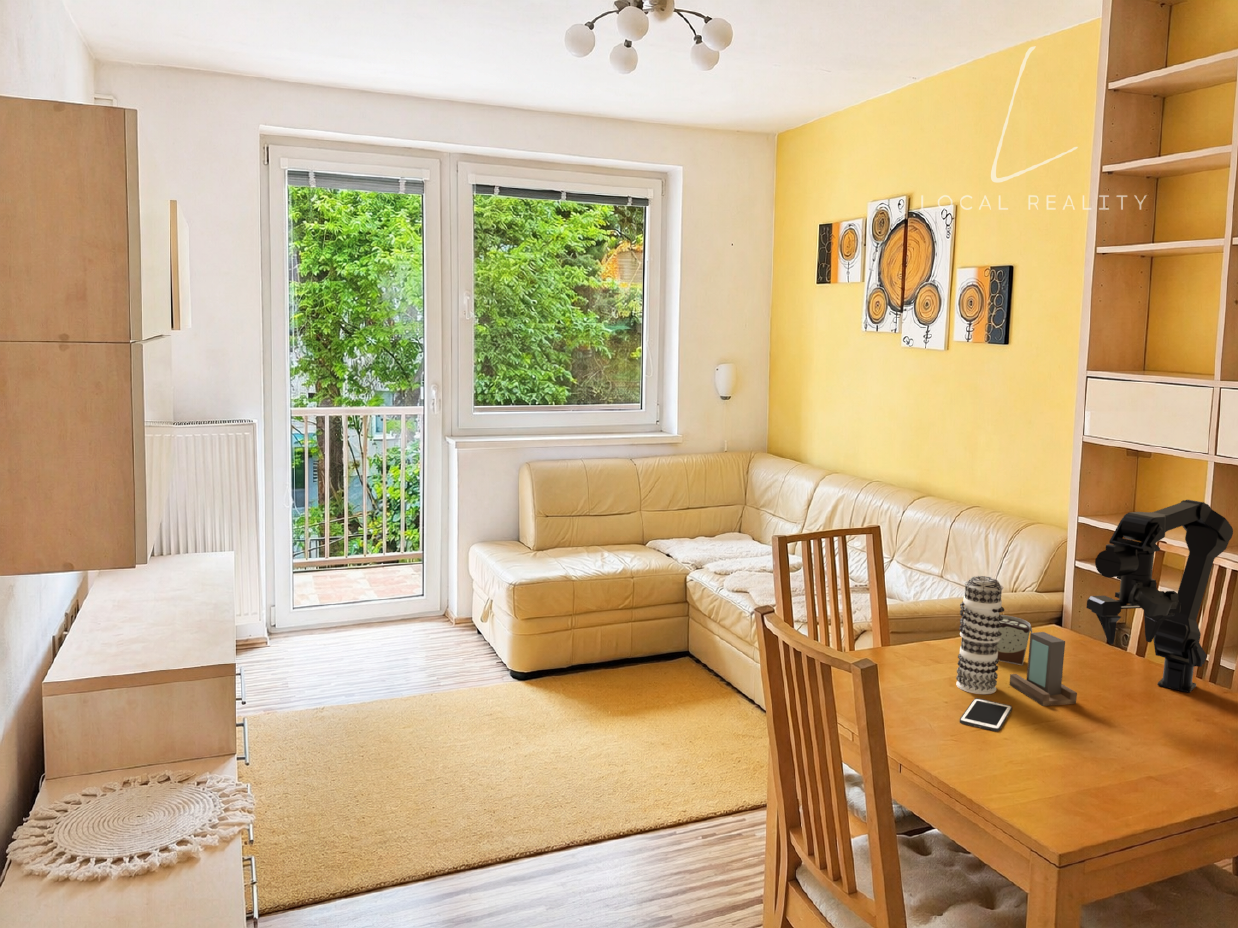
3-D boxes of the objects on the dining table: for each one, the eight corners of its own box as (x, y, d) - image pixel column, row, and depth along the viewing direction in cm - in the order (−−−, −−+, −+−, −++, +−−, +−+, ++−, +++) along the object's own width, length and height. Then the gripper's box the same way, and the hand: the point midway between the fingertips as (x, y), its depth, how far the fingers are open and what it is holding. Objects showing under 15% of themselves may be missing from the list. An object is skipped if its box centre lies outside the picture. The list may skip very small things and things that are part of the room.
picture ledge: (1041, 682, 212) (1042, 672, 212) (1076, 703, 201) (1077, 692, 200) (1009, 684, 211) (1010, 674, 211) (1042, 705, 199) (1043, 694, 199)
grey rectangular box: (1039, 683, 210) (1043, 631, 208) (1060, 694, 203) (1065, 641, 202) (1025, 684, 208) (1029, 633, 207) (1046, 695, 202) (1051, 642, 201)
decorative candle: (987, 679, 214) (995, 573, 211) (1005, 695, 205) (1014, 584, 201) (948, 679, 214) (955, 573, 210) (964, 694, 205) (972, 584, 201)
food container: (1033, 659, 228) (1037, 619, 227) (1029, 666, 223) (1032, 626, 221) (980, 649, 235) (983, 610, 233) (975, 656, 229) (978, 617, 228)
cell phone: (958, 724, 190) (958, 719, 190) (974, 701, 202) (975, 697, 202) (998, 734, 186) (998, 729, 186) (1012, 709, 198) (1013, 705, 198)
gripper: (1124, 583, 190) (1117, 657, 192) (1204, 581, 193) (1196, 653, 195) (1088, 569, 200) (1081, 639, 203) (1164, 567, 204) (1157, 636, 206)
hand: (1129, 642), depth 201 cm, fingers open, 9 cm apart
